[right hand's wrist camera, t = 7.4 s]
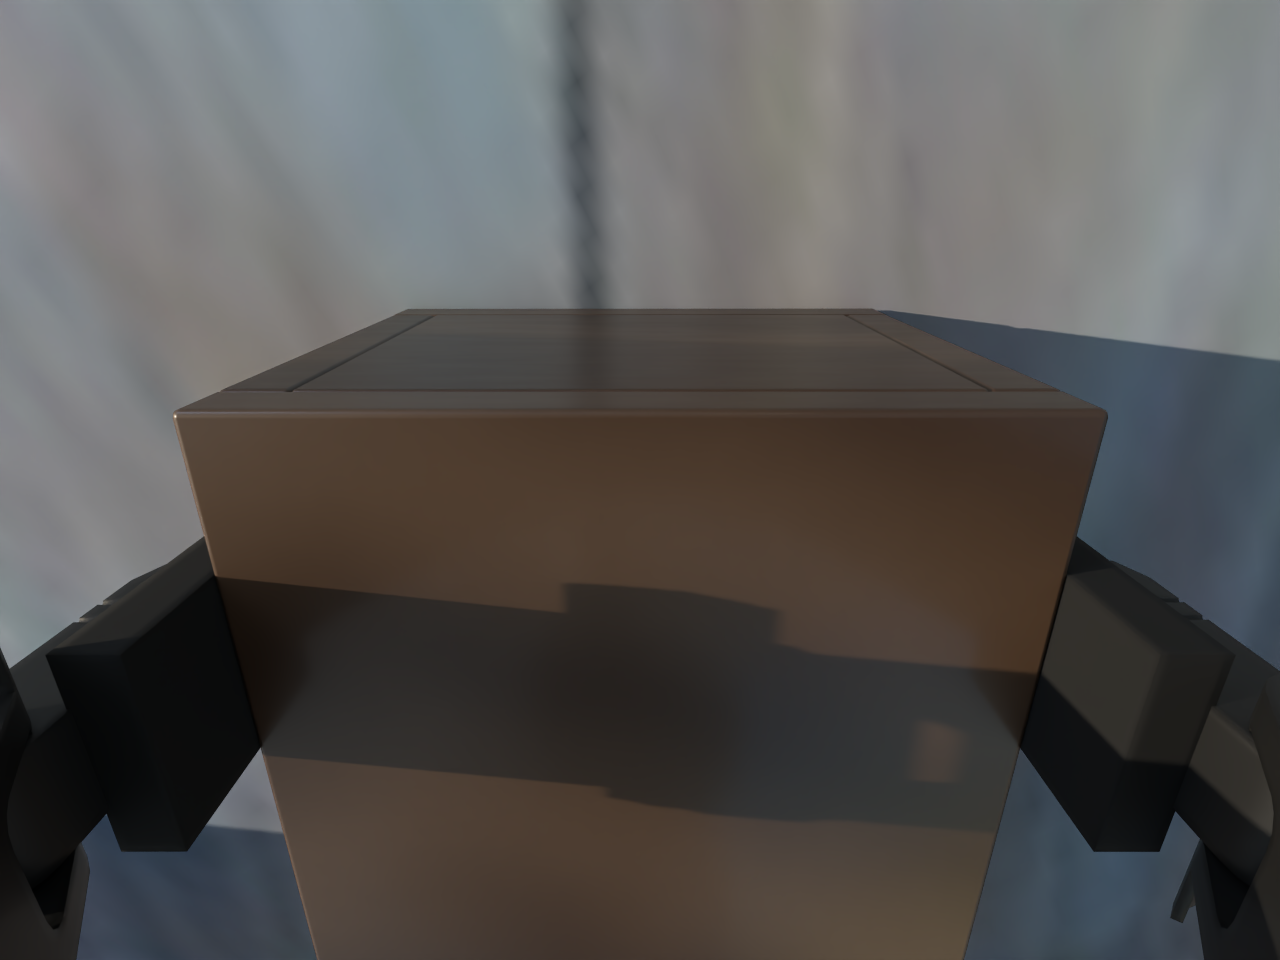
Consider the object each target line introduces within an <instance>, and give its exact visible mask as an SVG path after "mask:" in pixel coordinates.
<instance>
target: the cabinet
mask: <svg viewBox="0 0 1280 960" xmlns="http://www.w3.org/2000/svg"><path fill="white" fill-rule="evenodd" d="M1107 419H1108V414H1107V412H1106V410H1104V409H1102V408H1099V407H1097V406H1095V405H1092V404H1090V403H1088V402H1085V401H1083V400H1081V399H1078V398H1076V397H1074V396H1072V395H1069V394H1067V393H1065V392H1060V390H1058V389H1056V388H1054V387H1051V386H1049V385H1047V384H1044V383H1042V382H1040V381H1038V380H1035V379H1033V378H1031V377H1028V376H1026V375H1024V374H1021V373H1019V372H1017V371H1014V370H1012V369H1010V368H1007V367H1005V366H1003V365H1000V364H998V363H996V362H993V361H991V360H989V359H986V358H984V357H982V356H980V355H977V354H975V353H973V352H970V351H968V350H966V349H963V348H961V347H959V346H956V345H954V344H952V343H949V342H947V341H945V340H942V339H940V338H938V337H935V336H933V335H931V334H929V333H926V332H924V331H922V330H919V329H917V328H915V327H912V326H910V325H908V324H905V323H903V322H901V321H898V320H896V319H894V318H891V317H889V316H887V315H886V314H883V313H881V312H879V311H876V310H874V309H407V310H405V311H403V312H400V313H398V314H396V315H394V316H392V317H390V318H387V319H385V320H383V321H381V322H378V323H376V324H374V325H371V326H369V327H367V328H364V329H362V330H360V331H357V332H355V333H353V334H350V335H348V336H346V337H344V338H341V339H339V340H337V341H334V342H332V343H330V344H327V345H325V346H323V347H320V348H318V349H316V350H313V351H311V352H309V353H307V354H304V355H302V356H300V357H297V358H295V359H293V360H290V361H288V362H286V363H283V364H281V365H279V366H276V367H274V368H272V369H269V370H267V371H265V372H263V373H260V374H258V375H256V376H253V377H251V378H249V379H246V380H244V381H242V382H239V383H237V384H235V385H232V386H230V387H228V388H226V389H223V390H221V392H217V393H215V394H213V395H210V396H208V397H206V398H203V399H201V400H199V401H196V402H194V403H192V404H189V405H187V406H185V407H183V408H180V409H178V410H176V411H175V412H174V413H173V421H174V424H175V428H176V432H177V436H178V439H179V443H180V447H181V451H182V454H183V458H184V462H185V466H186V469H187V473H188V477H189V481H190V484H191V488H192V492H193V496H194V499H195V503H196V507H197V511H198V514H199V518H200V522H201V526H202V529H203V533H204V537H205V541H206V544H207V548H208V552H209V556H210V559H211V563H212V567H213V571H214V574H215V578H216V582H217V586H218V589H219V593H220V597H221V601H222V604H223V608H224V612H225V616H226V619H227V623H228V627H229V631H230V634H231V638H232V642H233V646H234V649H235V653H236V657H237V660H238V664H239V668H240V672H241V675H242V679H243V683H244V687H245V690H246V694H247V698H248V702H249V705H250V709H251V713H252V717H253V720H254V724H255V728H256V732H257V735H258V739H259V743H260V747H261V750H262V754H263V758H264V762H265V765H266V769H267V773H268V777H269V780H270V784H271V788H272V792H273V795H274V799H275V803H276V807H277V810H278V814H279V818H280V822H281V825H282V829H283V833H284V837H285V840H286V844H287V848H288V852H289V855H290V859H291V863H292V867H293V870H294V874H295V878H296V882H297V885H298V889H299V893H300V897H301V900H302V904H303V908H304V912H305V915H306V919H307V923H308V927H309V930H310V934H311V938H312V942H313V945H314V949H315V953H316V957H317V960H964V957H965V953H966V950H967V946H968V942H969V938H970V934H971V931H972V927H973V923H974V919H975V916H976V912H977V908H978V904H979V901H980V897H981V893H982V889H983V886H984V882H985V878H986V874H987V871H988V867H989V863H990V859H991V855H992V852H993V848H994V844H995V840H996V837H997V833H998V829H999V825H1000V822H1001V818H1002V814H1003V810H1004V807H1005V803H1006V799H1007V795H1008V792H1009V788H1010V784H1011V780H1012V776H1013V773H1014V769H1015V765H1016V761H1017V758H1018V754H1019V750H1020V746H1021V743H1022V739H1023V735H1024V731H1025V728H1026V724H1027V720H1028V716H1029V713H1030V709H1031V705H1032V701H1033V697H1034V694H1035V690H1036V686H1037V682H1038V679H1039V675H1040V671H1041V667H1042V664H1043V660H1044V656H1045V652H1046V649H1047V645H1048V641H1049V637H1050V634H1051V630H1052V626H1053V622H1054V619H1055V615H1056V611H1057V607H1058V603H1059V600H1060V596H1061V592H1062V588H1063V585H1064V581H1065V577H1066V573H1067V570H1068V566H1069V562H1070V558H1071V555H1072V551H1073V547H1074V543H1075V540H1076V536H1077V532H1078V528H1079V524H1080V521H1081V517H1082V513H1083V509H1084V506H1085V502H1086V498H1087V494H1088V491H1089V487H1090V483H1091V479H1092V476H1093V472H1094V468H1095V464H1096V461H1097V457H1098V453H1099V449H1100V445H1101V442H1102V438H1103V434H1104V430H1105V427H1106V423H1107Z"/></svg>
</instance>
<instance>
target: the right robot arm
mask: <svg viewBox="0 0 1280 960" xmlns="http://www.w3.org/2000/svg"><path fill="white" fill-rule="evenodd" d="M1020 748H1021V749H1022V751H1023V752H1024V754H1025V755H1026V756H1027V758H1028V759H1029V761H1030V762H1031V763H1032V765H1033V766H1034V768H1035V769H1036V771H1037V772H1038V773H1039V775H1040V776H1041V778H1042V779H1043V780H1044V782H1045V783H1046V785H1047V786H1048V787H1049V789H1050V790H1051V792H1052V793H1053V795H1054V796H1055V797H1056V799H1057V800H1058V802H1059V803H1060V804H1061V806H1062V807H1063V809H1064V810H1065V812H1066V813H1067V814H1068V816H1069V817H1070V819H1071V820H1072V821H1073V823H1074V824H1075V826H1076V827H1077V828H1078V830H1079V831H1080V833H1081V834H1082V836H1083V837H1084V838H1085V840H1086V841H1087V843H1088V844H1089V845H1090V847H1091V848H1092V850H1093V851H1094V852H1159V851H1160V849H1161V846H1162V844H1163V841H1164V839H1165V836H1166V833H1167V831H1168V828H1169V826H1170V823H1171V821H1172V818H1173V815H1174V813H1175V811H1176V812H1177V813H1178V814H1179V816H1180V817H1181V818H1182V819H1183V820H1184V821H1185V822H1186V823H1187V825H1188V826H1189V827H1190V828H1191V829H1192V830H1193V831H1194V832H1195V833H1196V835H1197V836H1198V837H1199V838H1200V841H1199V843H1198V845H1197V848H1196V850H1195V853H1194V855H1193V857H1192V860H1191V862H1190V865H1189V867H1188V869H1187V872H1186V874H1185V877H1184V879H1183V881H1182V884H1181V886H1180V889H1179V891H1178V893H1177V896H1176V898H1175V901H1174V903H1173V908H1172V912H1171V917H1170V918H1172V919H1174V920H1177V921H1179V922H1181V923H1183V921H1184V918H1185V916H1186V914H1187V911H1188V909H1189V908H1190V907H1193V906H1195V905H1196V910H1197V916H1198V923H1199V929H1200V935H1201V942H1202V948H1203V954H1204V960H1280V671H1279V670H1277V669H1276V668H1275V667H1273V666H1272V665H1270V664H1269V663H1268V662H1266V661H1265V660H1264V659H1262V658H1261V657H1259V656H1258V655H1257V654H1255V653H1254V652H1252V651H1251V650H1250V649H1248V648H1247V647H1245V646H1244V645H1243V644H1241V643H1240V642H1239V641H1237V640H1236V639H1234V638H1233V637H1232V636H1230V635H1229V634H1227V633H1226V632H1225V631H1223V630H1222V629H1220V628H1219V627H1218V626H1216V625H1215V624H1214V623H1212V622H1211V621H1209V620H1203V619H1202V615H1201V614H1200V613H1198V612H1197V611H1195V610H1194V609H1193V608H1191V607H1190V606H1189V605H1187V604H1186V603H1184V602H1179V598H1177V597H1176V596H1175V595H1173V594H1172V593H1170V592H1169V591H1168V590H1166V589H1165V588H1164V587H1162V586H1161V585H1159V584H1158V583H1157V582H1155V581H1154V580H1152V579H1151V578H1149V577H1147V576H1145V575H1143V574H1140V573H1138V572H1136V571H1134V570H1132V569H1130V568H1127V567H1125V566H1123V565H1121V564H1119V563H1116V562H1114V561H1109V560H1108V559H1106V558H1105V557H1104V556H1102V555H1101V554H1100V553H1098V552H1097V551H1096V550H1094V549H1093V548H1092V547H1090V546H1089V545H1088V544H1086V543H1085V542H1084V541H1082V540H1081V539H1080V538H1078V537H1077V536H1076V540H1075V543H1074V547H1073V551H1072V555H1071V558H1070V562H1069V566H1068V570H1067V573H1066V577H1065V581H1064V585H1063V588H1062V592H1061V596H1060V600H1059V603H1058V607H1057V611H1056V615H1055V619H1054V622H1053V626H1052V630H1051V634H1050V637H1049V641H1048V645H1047V649H1046V652H1045V656H1044V660H1043V664H1042V667H1041V671H1040V675H1039V679H1038V682H1037V686H1036V690H1035V694H1034V697H1033V701H1032V705H1031V709H1030V713H1029V716H1028V720H1027V724H1026V728H1025V731H1024V735H1023V739H1022V743H1021V746H1020ZM259 749H260V743H259V739H258V735H257V732H256V728H255V724H254V720H253V717H252V713H251V709H250V705H249V702H248V698H247V694H246V690H245V687H244V683H243V679H242V675H241V672H240V668H239V664H238V660H237V657H236V653H235V649H234V646H233V642H232V638H231V634H230V631H229V627H228V623H227V619H226V616H225V612H224V608H223V604H222V601H221V597H220V593H219V589H218V586H217V582H216V578H215V574H214V571H213V567H212V563H211V559H210V556H209V552H208V548H207V544H206V541H205V537H203V538H201V539H200V540H199V541H197V542H196V543H194V544H193V545H192V546H190V547H189V548H188V549H186V550H185V551H184V552H182V553H181V554H180V555H178V556H177V557H176V558H174V559H173V560H172V561H170V562H169V563H168V564H166V565H164V566H162V567H159V568H157V569H155V570H153V571H151V572H149V573H146V574H144V575H142V576H140V577H138V578H136V579H133V580H131V581H130V582H128V583H127V584H126V585H124V586H123V587H122V588H120V589H119V590H117V591H116V592H115V593H113V594H112V595H111V596H109V597H108V598H106V599H105V600H104V601H103V605H97V606H95V607H94V608H93V609H91V610H90V611H89V612H87V613H86V614H84V615H83V616H82V617H80V621H79V622H73V623H72V624H71V625H69V626H68V627H67V628H65V629H64V630H62V631H61V632H60V633H58V634H57V635H56V636H54V637H53V638H51V639H50V640H49V641H47V642H46V643H44V644H43V645H42V646H40V647H39V648H38V649H36V650H35V651H33V652H32V653H31V654H29V655H28V656H27V657H25V658H24V659H22V660H21V661H20V662H18V663H17V664H16V665H14V666H13V667H11V668H10V669H9V667H8V665H7V663H6V660H5V658H4V655H3V653H2V651H1V648H0V960H76V957H77V951H78V944H79V938H80V932H81V925H82V919H83V912H84V906H85V900H86V893H87V887H88V880H89V874H90V868H89V863H88V858H87V855H86V853H85V850H84V848H83V845H82V843H81V842H82V841H83V840H84V838H85V837H86V836H87V835H88V834H89V833H90V832H91V830H92V829H93V828H94V827H95V826H96V825H97V824H98V823H99V821H100V820H101V819H102V818H103V817H104V816H105V815H106V814H107V816H108V818H109V821H110V823H111V826H112V828H113V831H114V834H115V836H116V839H117V841H118V844H119V846H120V849H121V852H159V851H188V849H189V848H190V846H191V845H192V844H193V842H194V841H195V839H196V838H197V837H198V835H199V834H200V832H201V831H202V830H203V828H204V827H205V825H206V824H207V822H208V821H209V820H210V818H211V817H212V815H213V814H214V813H215V811H216V810H217V808H218V807H219V805H220V804H221V803H222V801H223V800H224V798H225V797H226V796H227V794H228V793H229V791H230V790H231V788H232V787H233V786H234V784H235V783H236V781H237V780H238V779H239V777H240V776H241V774H242V773H243V772H244V770H245V769H246V767H247V766H248V764H249V763H250V762H251V760H252V759H253V757H254V756H255V755H256V753H257V752H258V750H259Z"/></svg>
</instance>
